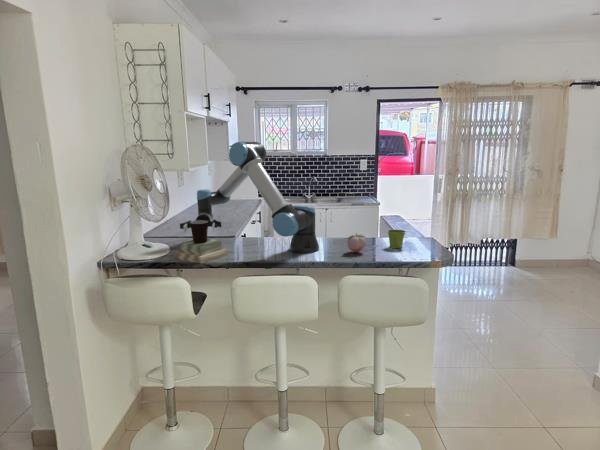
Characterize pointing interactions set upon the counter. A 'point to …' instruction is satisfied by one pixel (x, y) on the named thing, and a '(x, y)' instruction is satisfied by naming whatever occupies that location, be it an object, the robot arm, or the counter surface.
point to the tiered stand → (200, 251)
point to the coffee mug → (199, 231)
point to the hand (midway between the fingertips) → (198, 228)
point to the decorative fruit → (356, 243)
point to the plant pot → (396, 238)
